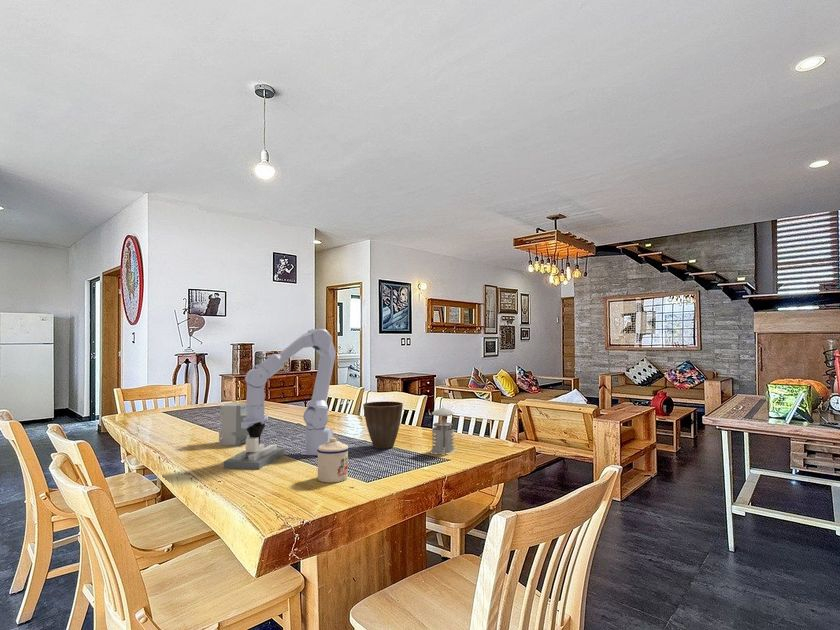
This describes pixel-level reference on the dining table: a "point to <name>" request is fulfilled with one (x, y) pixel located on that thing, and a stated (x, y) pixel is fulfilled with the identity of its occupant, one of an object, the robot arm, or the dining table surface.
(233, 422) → the circuit breaker
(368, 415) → the plant pot
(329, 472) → the teacup with lid
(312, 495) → the dining table surface
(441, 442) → the french press
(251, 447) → the lever
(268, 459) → the panel
